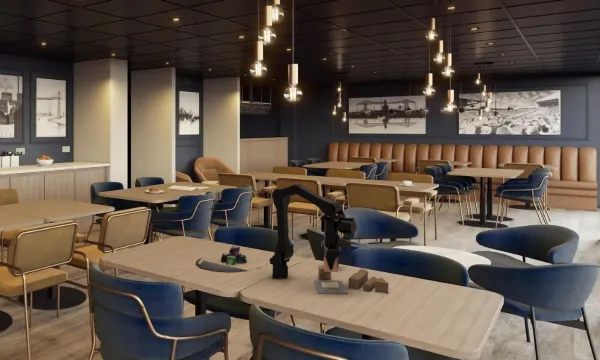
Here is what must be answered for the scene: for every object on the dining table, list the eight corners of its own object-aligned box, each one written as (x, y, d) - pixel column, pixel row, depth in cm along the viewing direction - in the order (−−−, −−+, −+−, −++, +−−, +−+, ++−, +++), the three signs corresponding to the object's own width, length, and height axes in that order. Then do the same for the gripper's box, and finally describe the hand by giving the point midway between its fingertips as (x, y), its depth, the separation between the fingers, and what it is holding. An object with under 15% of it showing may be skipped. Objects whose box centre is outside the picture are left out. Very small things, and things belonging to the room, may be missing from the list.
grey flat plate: (318, 293, 204) (318, 292, 204) (314, 281, 220) (314, 280, 219) (347, 293, 204) (347, 292, 204) (342, 282, 220) (342, 280, 220)
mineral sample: (280, 266, 244) (280, 247, 244) (213, 276, 225) (213, 255, 224) (246, 255, 273) (246, 238, 273) (184, 263, 253) (184, 245, 253)
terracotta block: (324, 271, 211) (325, 260, 210) (323, 268, 216) (324, 257, 215) (336, 272, 211) (337, 260, 211) (335, 268, 216) (335, 257, 215)
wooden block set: (347, 276, 211) (359, 266, 228) (347, 289, 212) (359, 278, 228) (387, 281, 205) (397, 270, 221) (387, 295, 205) (396, 283, 222)
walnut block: (319, 279, 223) (319, 268, 223) (318, 276, 228) (318, 265, 228) (330, 279, 224) (331, 268, 223) (329, 276, 228) (329, 265, 228)
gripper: (354, 236, 203) (352, 274, 204) (347, 227, 221) (345, 262, 223) (326, 236, 202) (325, 274, 204) (321, 227, 221) (320, 262, 222)
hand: (330, 268), depth 213 cm, fingers closed on terracotta block, 5 cm apart
